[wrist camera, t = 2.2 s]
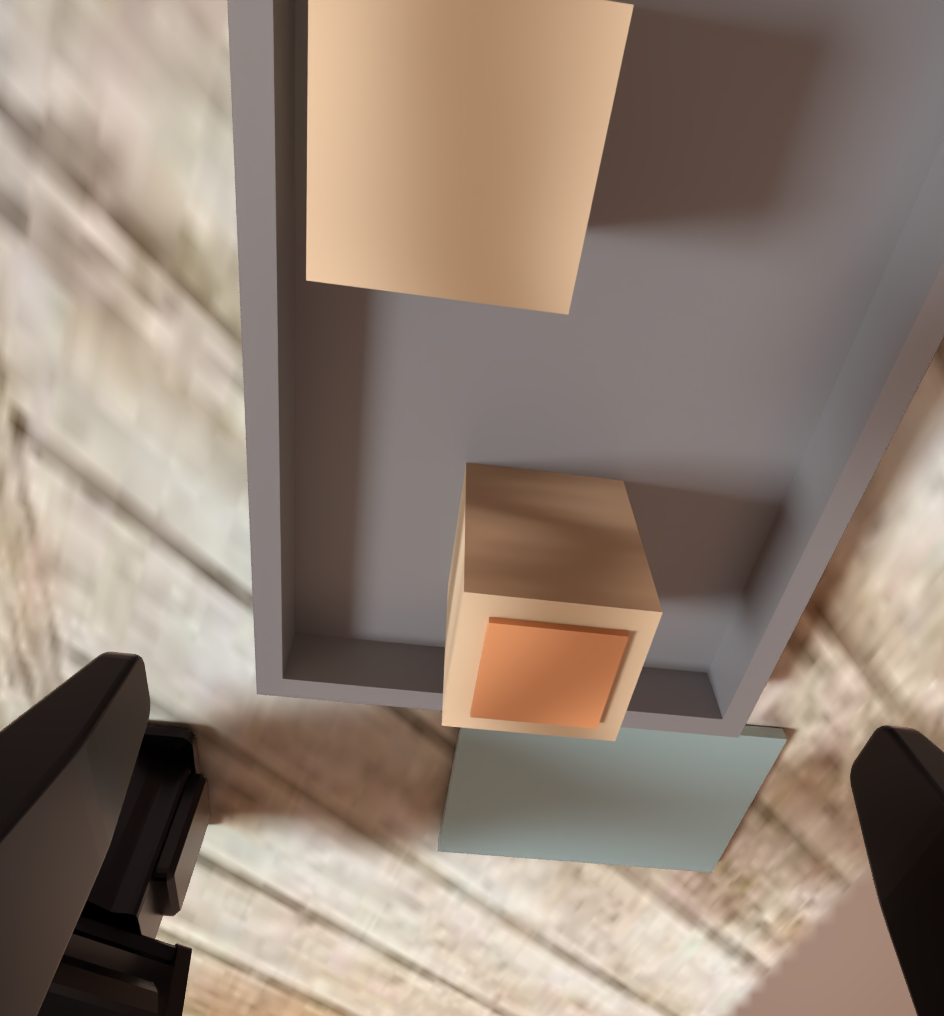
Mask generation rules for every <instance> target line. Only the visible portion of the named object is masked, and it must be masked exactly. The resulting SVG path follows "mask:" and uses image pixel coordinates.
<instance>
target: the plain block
mask: <svg viewBox="0 0 944 1016" xmlns="http://www.w3.org/2000/svg"><path fill="white" fill-rule="evenodd" d="M633 6H634V5H632V4H626V3H619V2H613V1H607V0H308V103H307V229H306V280H307V281H314V282H322V283H330V284H337V285H345V286H353V287H360V288H368V289H376V290H383V291H391V292H399V293H406V294H414V295H422V296H429V297H437V298H445V299H452V300H460V301H468V302H475V303H483V304H491V305H498V306H506V307H514V308H521V309H529V310H537V311H544V312H552V313H560V314H567V315H568V314H569V309H570V304H571V300H572V295H573V290H574V286H575V281H576V276H577V271H578V267H579V262H580V257H581V252H582V248H583V243H584V238H585V233H586V229H587V224H588V219H589V215H590V210H591V205H592V200H593V196H594V191H595V186H596V181H597V177H598V172H599V167H600V163H601V158H602V153H603V148H604V144H605V139H606V134H607V129H608V125H609V120H610V115H611V111H612V106H613V101H614V96H615V92H616V87H617V82H618V77H619V73H620V68H621V63H622V58H623V54H624V49H625V44H626V40H627V35H628V30H629V25H630V21H631V16H632V11H633Z"/></svg>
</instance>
